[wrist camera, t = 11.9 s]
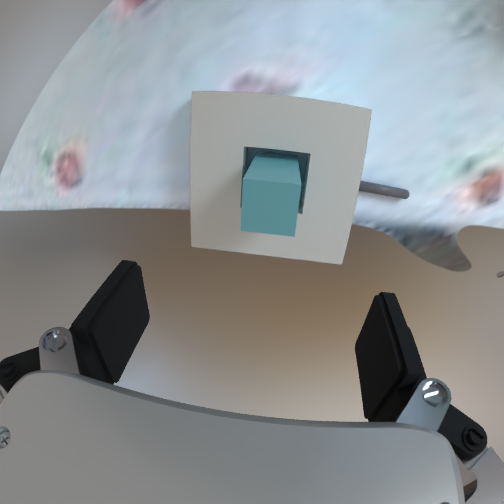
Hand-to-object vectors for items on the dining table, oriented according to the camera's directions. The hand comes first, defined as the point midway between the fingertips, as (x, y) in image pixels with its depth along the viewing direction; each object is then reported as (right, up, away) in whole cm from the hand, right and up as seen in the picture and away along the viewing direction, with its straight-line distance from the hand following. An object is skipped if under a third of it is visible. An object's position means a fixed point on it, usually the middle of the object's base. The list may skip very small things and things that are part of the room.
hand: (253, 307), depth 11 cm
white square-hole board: (+6, +10, +18) cm, 21 cm away
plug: (+2, +10, +18) cm, 21 cm away
